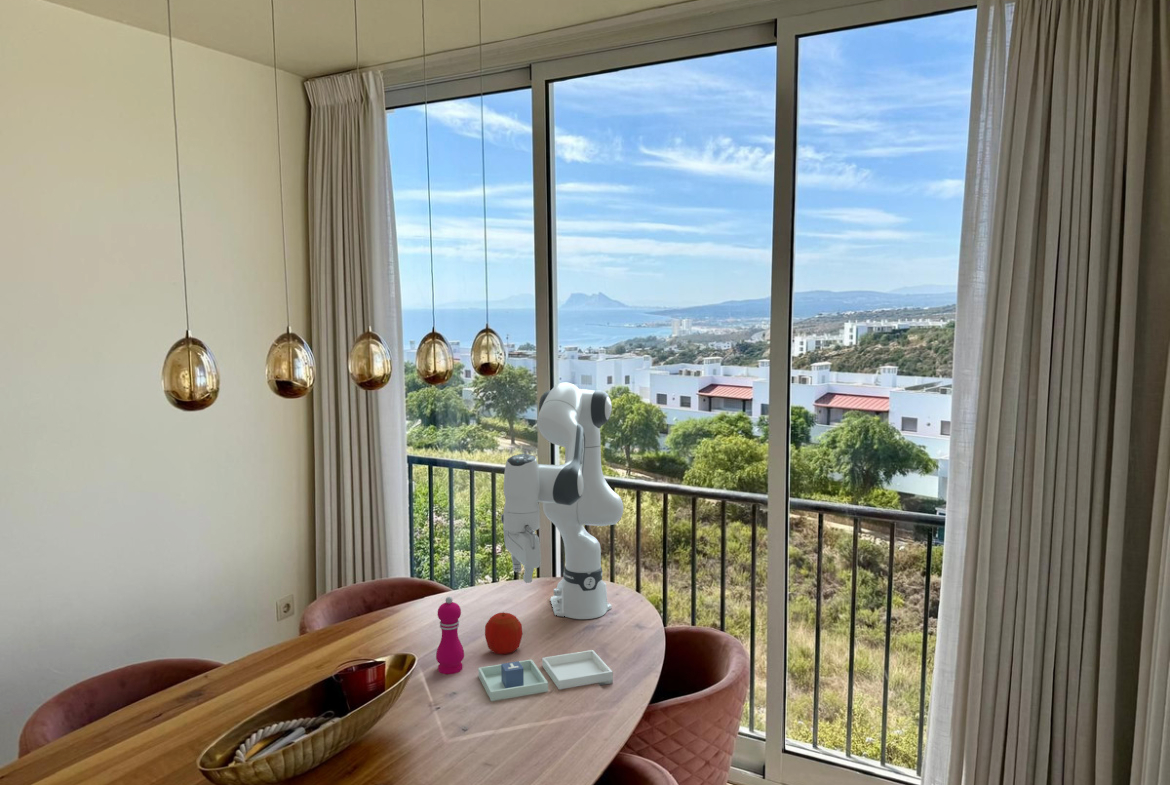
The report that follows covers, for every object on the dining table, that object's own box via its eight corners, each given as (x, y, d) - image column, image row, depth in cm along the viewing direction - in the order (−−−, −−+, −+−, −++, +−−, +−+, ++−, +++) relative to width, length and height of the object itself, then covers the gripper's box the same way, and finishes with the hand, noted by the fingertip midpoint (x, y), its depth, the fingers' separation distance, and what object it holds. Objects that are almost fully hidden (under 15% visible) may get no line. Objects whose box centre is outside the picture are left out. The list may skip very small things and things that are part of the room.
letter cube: (501, 681, 195) (501, 663, 195) (518, 678, 197) (518, 660, 197) (505, 688, 191) (505, 670, 191) (523, 685, 193) (523, 667, 192)
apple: (528, 648, 217) (528, 608, 216) (509, 662, 208) (508, 620, 207) (498, 642, 222) (497, 602, 221) (478, 655, 213) (477, 614, 212)
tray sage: (478, 679, 198) (478, 667, 198) (532, 670, 203) (531, 659, 203) (491, 704, 185) (491, 692, 185) (548, 694, 190) (548, 682, 190)
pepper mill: (458, 679, 199) (457, 602, 197) (432, 676, 200) (430, 600, 198) (468, 666, 206) (467, 593, 204) (442, 664, 207) (441, 591, 205)
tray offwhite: (542, 668, 204) (542, 657, 204) (592, 660, 209) (592, 649, 209) (559, 692, 191) (559, 680, 191) (612, 683, 196) (612, 671, 195)
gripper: (547, 529, 183) (547, 587, 184) (522, 511, 202) (523, 564, 203) (521, 532, 181) (521, 590, 182) (499, 513, 200) (499, 566, 201)
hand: (522, 576), depth 192 cm, fingers open, 8 cm apart
